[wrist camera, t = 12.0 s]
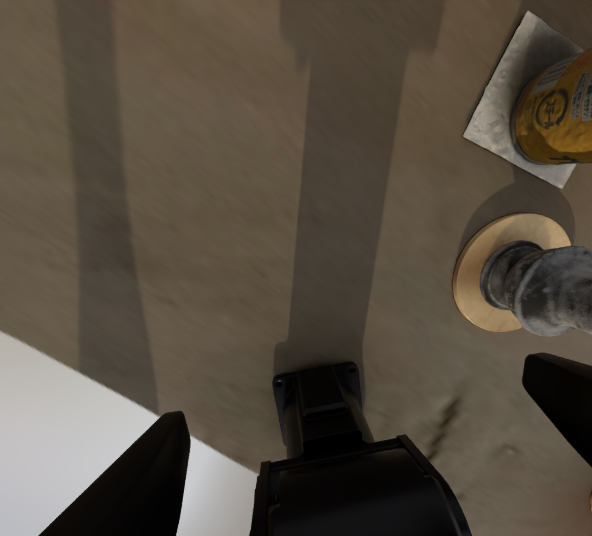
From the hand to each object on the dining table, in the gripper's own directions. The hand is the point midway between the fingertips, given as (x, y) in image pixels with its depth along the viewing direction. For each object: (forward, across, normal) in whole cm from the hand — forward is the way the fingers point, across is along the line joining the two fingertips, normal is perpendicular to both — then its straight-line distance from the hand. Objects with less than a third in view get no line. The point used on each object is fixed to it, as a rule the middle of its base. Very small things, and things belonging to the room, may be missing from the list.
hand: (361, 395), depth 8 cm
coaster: (+13, -15, +3) cm, 20 cm away
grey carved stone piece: (+13, -15, +3) cm, 20 cm away
